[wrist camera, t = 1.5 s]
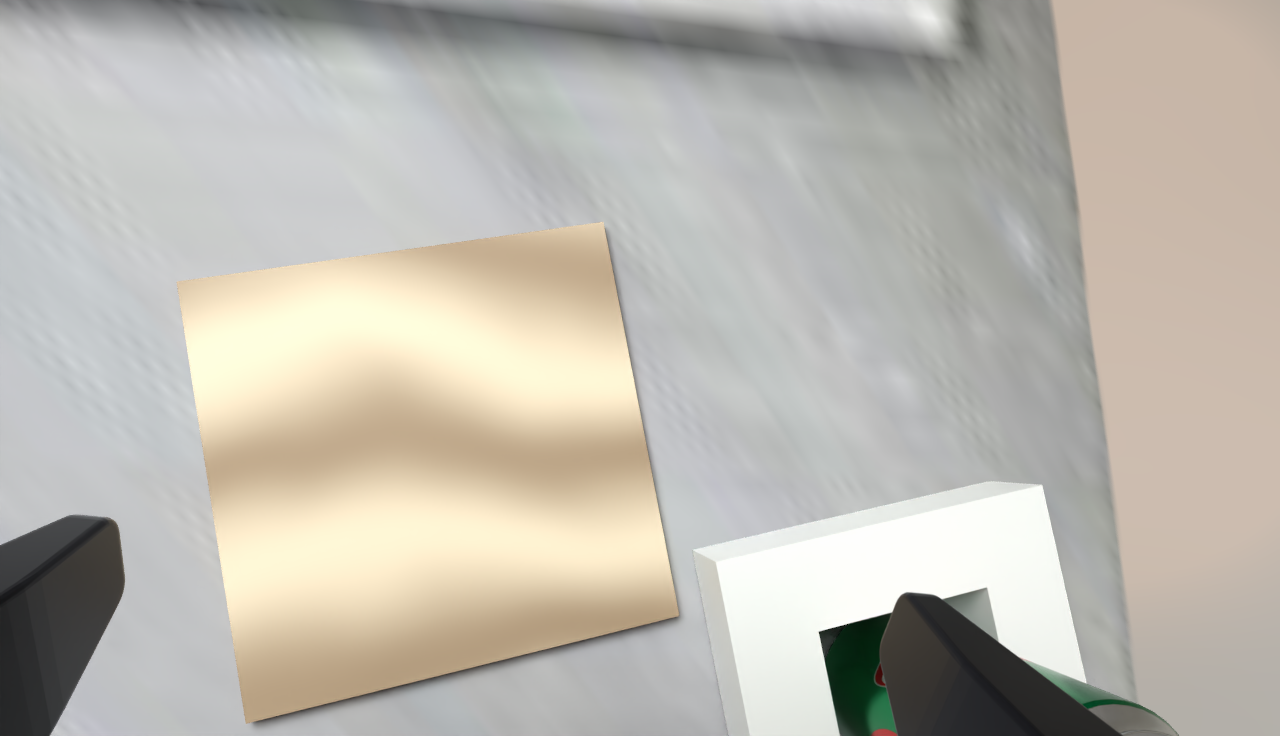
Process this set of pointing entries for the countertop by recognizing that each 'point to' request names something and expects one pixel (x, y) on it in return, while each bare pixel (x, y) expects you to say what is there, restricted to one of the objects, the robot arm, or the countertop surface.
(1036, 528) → the socket collar
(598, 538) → the board
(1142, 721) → the soda can
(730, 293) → the countertop surface
